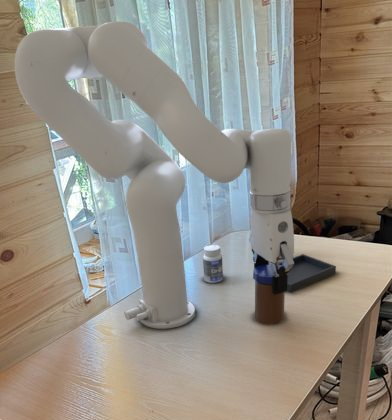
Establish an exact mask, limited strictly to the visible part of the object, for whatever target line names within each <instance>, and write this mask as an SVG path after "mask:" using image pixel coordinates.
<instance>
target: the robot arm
mask: <svg viewBox="0 0 392 420" xmlns="http://www.w3.org/2000/svg"><path fill="white" fill-rule="evenodd" d="M13 63H14V76H15V80H16V84H17V87H18V89H19V92H20V94H21V96H22V98H23V99H24V101H25V103H26V105H28V107H29V108H30V110H31V111H32V112H33V113H34V114H35V115H36V116H37V117H38V118H39V119H40V120H41V121H42V122H43V123H45V125H46V126H48V127H49V128H50V129H51V130H52V131H53V132H54V133H56V134H57V136H58V137H60V139H62V140H63V142H64V143H65V144H67V145H68V146H69V147H70V148H71V149H72V150H73V151H74V152H75V153H76V154H77V155H78V156H79V157H80V158H81V159H82V160H83V161H84V162H85V163H86V164H87V165H88V166H89V167H90V168H91V169H92V170H94V171H95V172H96V174H98V175H99V176H101V177H102V178H104V179H107V180H112V181H113V180H114V181H115V180H119V179H121V178H123V177H124V176H126V177H127V178H128V179H129V180H130V182H129V184H128V187H127V189H126V194H125V206H126V210H127V214H128V217H129V221H130V224H131V229H132V233H133V239H134V244H135V252H136V257H137V264H138V271H139V278H140V279H139V280H140V285H141V290H142V291H141V292H142V298H141V299H139V304H138V305H136V307H135V308H131V309H127V310H125V311H124V317H125V319H126V320H127V321H129V320H132V319H134V318H135V320H136V321H137V322H140V323H141V324H142V325H144V326H146V327H149V328H151V329H157V330H158V329H161V330H163V329H174V328H178V327H180V326H184V325H185V324H187V323H189V322H190V321H192V320H193V318H194V317H195V316H196V308H195V305H194V304H193V303H192V302H190V300H189V301H188V296H187V295H188V294H187V285H186V274H185V273H186V272H185V265H184V264H185V263H184V253H183V252H184V251H183V242H182V234H181V227H180V223H179V219H178V212H177V211H178V210H177V205H178V203H179V201H180V199H182V197H183V194H184V192H185V188H186V179H185V175H184V172H183V170H182V169H181V167H180V165H178V163H177V162H176V161H175V160H174V159H173V158H172V157H171V156H170V155H169V154H168V153H167V152H166V151H165V149H163V148H162V147H161V146H160V145H159V143H157V142H156V141H155V140H154V139H153V138H152V136H151V135H149V134H148V133H147V132H146V131H145V130H144V129H143V128H142V127H140V126H139V125H138V124H136V123H135V122H133V121H130V120H127V119H115V120H112V121H111V120H110V119H108V118H107V116H105V115H104V114H103V113H102V112H101V111H100V110H99V109H98V108H97V107H96V106H95V105H94V104H93V103H92V102H91V100H89V99H88V98H87V97H85V96H84V95H83V94H81V93H80V92H78V91H77V90H76V89H75V88H74V87H72V86H71V84H70V83H69V82H70V81H75V80H79V79H80V80H81V79H90V78H91V79H92V78H104V79H105V80H106V81H107V82H108V83H110V84H111V85H112V87H114V88H116V90H118V91H119V92H120V93H121V94H123V95H124V96H125V97H126V98H127V99H129V100H130V101H131V102H132V103H133V104H134V105H135V106H136V107H137V108H139V109H140V111H142V112H143V113H144V114H145V115H146V116H148V117H149V119H151V120H152V121H153V122H154V124H155V125H156V126H157V128H158V130H159V131H160V132H161V134H162V135H163V136H164V137H165V138H166V139H167V141H168V142H169V143H170V144H171V145H172V147H173V148H174V149H175V151H177V153H179V154H180V155H181V156H182V157H183V158H184V159H185V160H186V161H188V163H189V164H191V165H192V166H193V167H194V168H196V169H197V170H198V171H199V172H200V173H202V174H203V175H204V176H205V177H206V178H208V179H210V180H211V181H214V182H215V183H220V184H227V183H231V182H234V181H236V180H237V179H238V178H239V177H240V176H241V175H242V174H243V172H244V170H245V169H247V170H248V171H249V205H250V206H249V207H250V228H249V229H250V230H249V232H250V233H249V236H250V237H249V238H248V241H249V244H250V247H251V252H252V261H253V262H254V263H253V269H254V268H255V267H257V266H259V265H263V264H272V267H273V272H274V276H272V293H273V294H274V295H276V294H280V293H283V292H285V293H287V292H288V291H287V281H288V274H289V271H290V270H291V268H292V267H293V265H294V261H293V258H294V257H295V232H294V222H293V215H292V210H291V209H290V208H291V187H292V186H291V183H292V180H291V179H292V178H291V177H292V175H291V174H292V136H291V133H290V132H289V131H288V130H286V129H283V128H263V129H259V130H249V129H239V128H225V129H223V130H221V129H220V128H219V127H217V125H215V124H214V123H213V122H212V121H211V120H210V119H209V118H208V117H207V116H206V115H205V114H204V113H203V112H202V111H201V110H200V109H199V107H198V105H197V104H196V103H195V101H194V100H193V98H192V95H191V93H190V90H189V88H188V85H187V84H186V82H185V81H184V79H183V78H182V77H181V76H180V75H179V74H178V72H176V71H175V70H173V68H171V67H170V66H169V65H168V64H167V63H166V62H165V61H164V60H163V59H161V57H159V56H158V55H157V54H156V53H155V52H153V51H152V50H151V49H150V48H149V45H148V41H147V38H146V36H145V34H144V33H143V31H142V30H141V29H140V28H139V27H137V26H136V25H134V24H133V23H131V22H128V21H109V22H105V23H103V24H98V25H87V26H86V25H85V26H74V27H57V28H42V29H37V30H34V31H31V32H29V33H27V34H26V35H25V36H24V37H23V38H22V39H21V40H20V41H19V43H18V45H17V48H16V50H15V55H14V62H13ZM280 256H281V258H282V259H280V260H277V257H280ZM281 262H282V266H281V267H280V268H279V269H278V266H277V264H278V263H281Z"/></svg>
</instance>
